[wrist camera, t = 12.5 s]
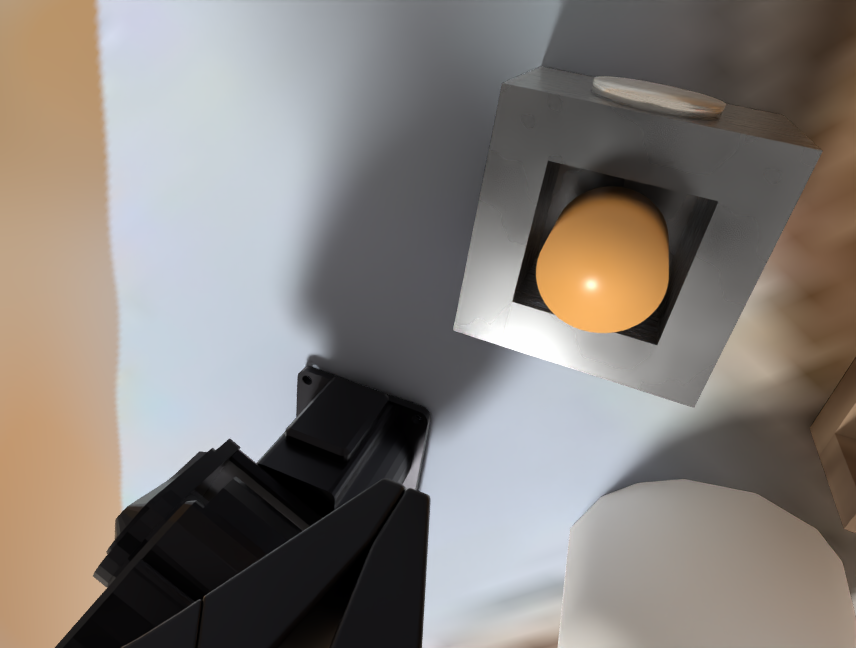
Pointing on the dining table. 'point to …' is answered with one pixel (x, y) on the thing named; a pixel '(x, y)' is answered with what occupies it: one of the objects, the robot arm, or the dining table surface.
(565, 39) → the dining table surface
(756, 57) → the dining table surface
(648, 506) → the teardrop
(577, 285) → the button
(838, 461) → the rail
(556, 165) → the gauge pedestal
